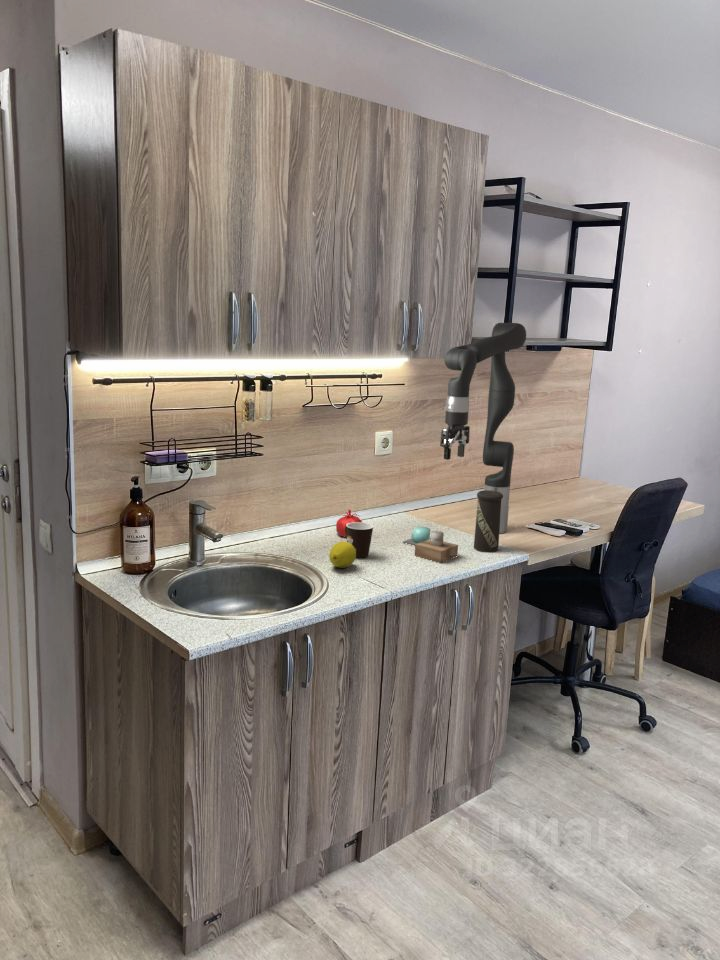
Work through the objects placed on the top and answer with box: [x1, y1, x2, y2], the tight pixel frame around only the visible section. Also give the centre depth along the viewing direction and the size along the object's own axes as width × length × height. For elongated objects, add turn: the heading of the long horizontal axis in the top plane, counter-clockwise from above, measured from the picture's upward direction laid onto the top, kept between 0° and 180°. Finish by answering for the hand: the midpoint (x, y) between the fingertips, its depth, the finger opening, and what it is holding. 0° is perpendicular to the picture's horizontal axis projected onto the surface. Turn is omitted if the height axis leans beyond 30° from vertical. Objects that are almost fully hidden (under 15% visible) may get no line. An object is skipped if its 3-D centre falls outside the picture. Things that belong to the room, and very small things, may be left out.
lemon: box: [328, 540, 356, 569], centre depth 239 cm, size 11×8×8 cm
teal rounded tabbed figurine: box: [410, 526, 431, 543], centre depth 269 cm, size 8×6×4 cm
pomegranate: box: [335, 509, 364, 539], centre depth 274 cm, size 10×10×9 cm
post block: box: [414, 530, 459, 564], centre depth 255 cm, size 10×10×8 cm
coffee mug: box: [345, 521, 374, 560], centre depth 253 cm, size 12×9×10 cm
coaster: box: [402, 538, 418, 547], centre depth 270 cm, size 9×9×1 cm
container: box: [473, 489, 503, 553], centre depth 265 cm, size 9×9×20 cm
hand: (453, 458), depth 264 cm, fingers open, 8 cm apart
